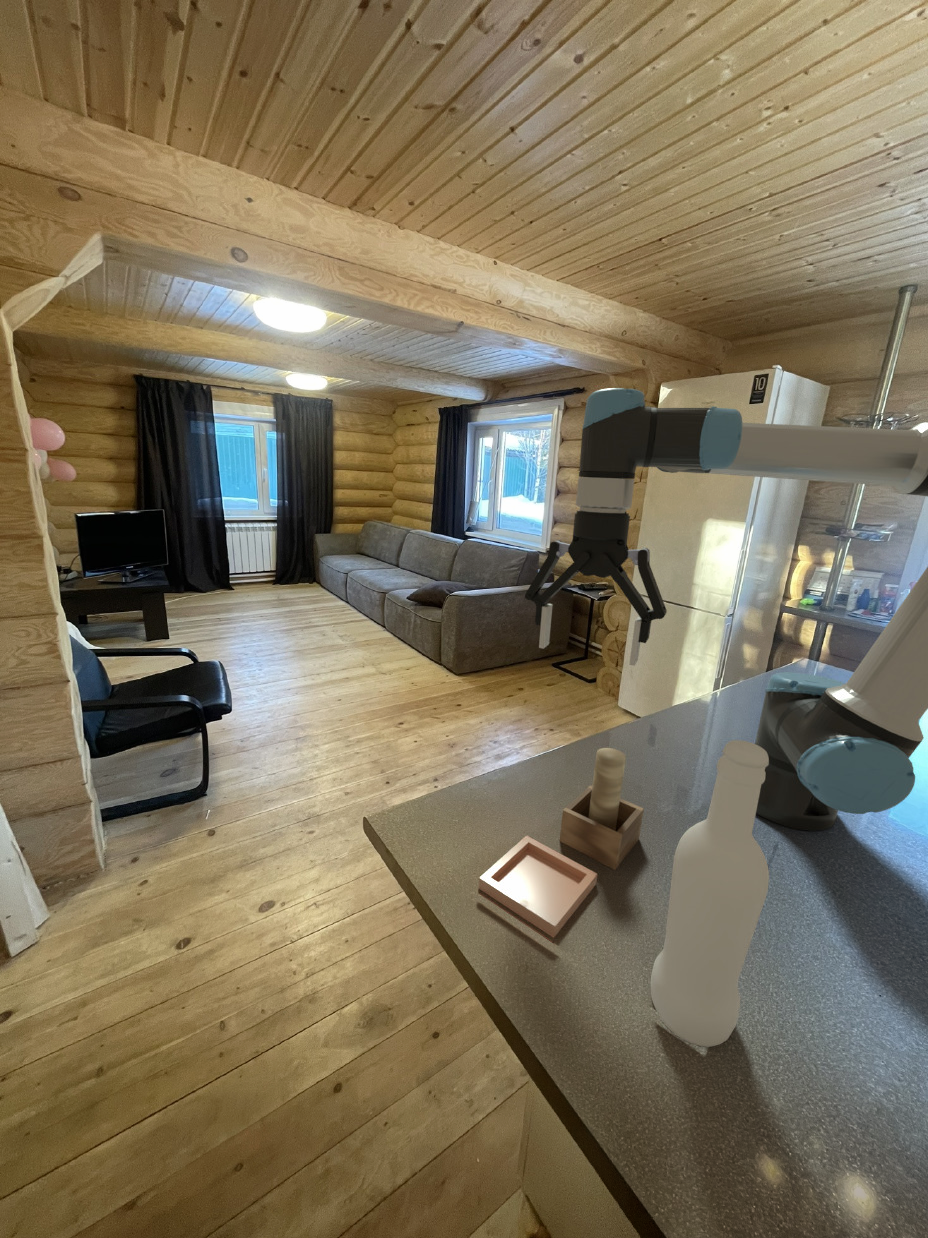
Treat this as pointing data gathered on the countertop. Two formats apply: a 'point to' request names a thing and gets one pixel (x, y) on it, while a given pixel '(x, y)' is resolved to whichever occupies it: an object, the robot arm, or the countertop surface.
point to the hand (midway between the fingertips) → (587, 654)
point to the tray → (538, 885)
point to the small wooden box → (601, 830)
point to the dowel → (607, 787)
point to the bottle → (714, 905)
